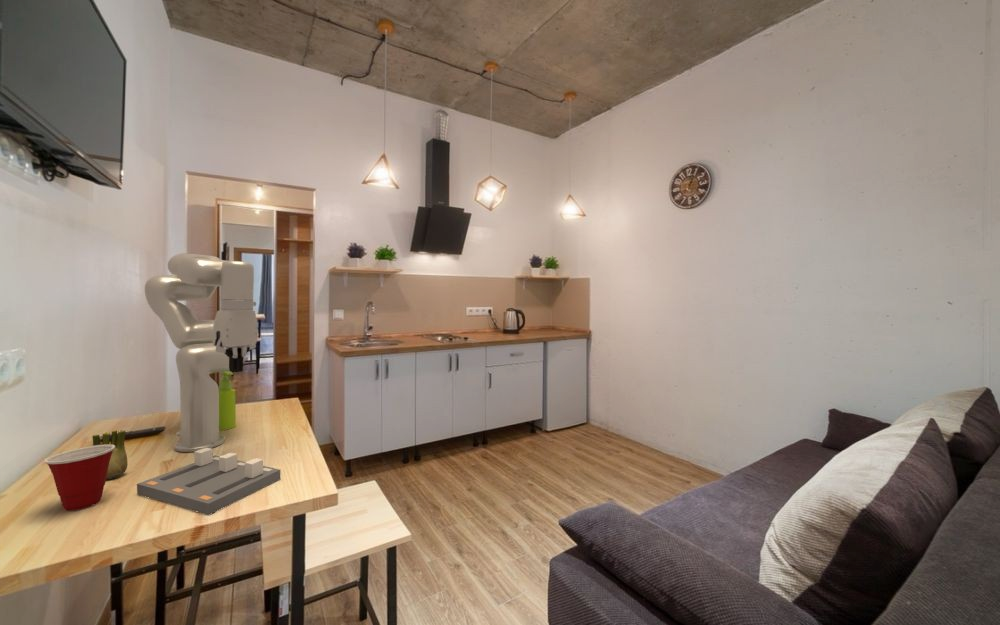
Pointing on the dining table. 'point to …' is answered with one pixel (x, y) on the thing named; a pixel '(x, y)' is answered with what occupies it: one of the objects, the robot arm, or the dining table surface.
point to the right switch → (253, 468)
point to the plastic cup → (80, 475)
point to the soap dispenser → (226, 403)
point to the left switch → (203, 456)
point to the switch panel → (205, 486)
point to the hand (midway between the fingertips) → (236, 371)
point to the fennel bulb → (114, 452)
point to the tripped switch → (228, 462)
